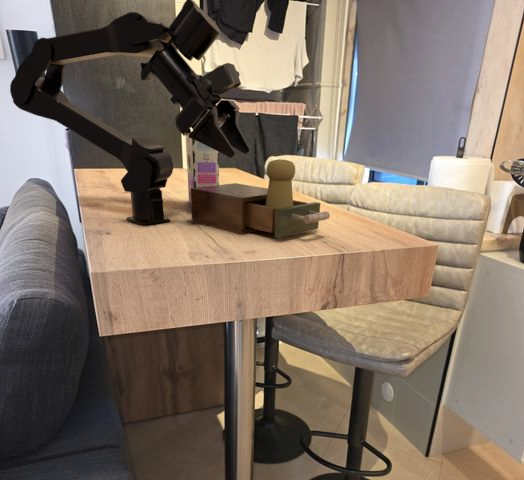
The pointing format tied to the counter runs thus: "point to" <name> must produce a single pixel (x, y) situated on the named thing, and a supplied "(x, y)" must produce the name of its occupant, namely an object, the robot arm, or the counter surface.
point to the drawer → (284, 217)
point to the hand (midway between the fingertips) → (241, 154)
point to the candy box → (201, 165)
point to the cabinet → (224, 205)
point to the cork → (280, 184)
